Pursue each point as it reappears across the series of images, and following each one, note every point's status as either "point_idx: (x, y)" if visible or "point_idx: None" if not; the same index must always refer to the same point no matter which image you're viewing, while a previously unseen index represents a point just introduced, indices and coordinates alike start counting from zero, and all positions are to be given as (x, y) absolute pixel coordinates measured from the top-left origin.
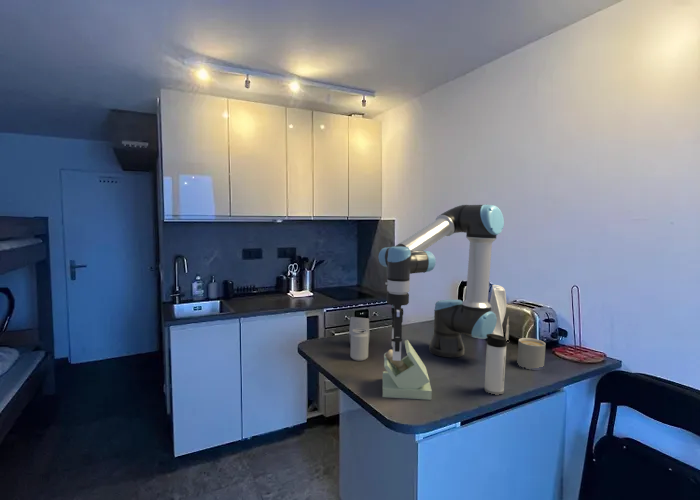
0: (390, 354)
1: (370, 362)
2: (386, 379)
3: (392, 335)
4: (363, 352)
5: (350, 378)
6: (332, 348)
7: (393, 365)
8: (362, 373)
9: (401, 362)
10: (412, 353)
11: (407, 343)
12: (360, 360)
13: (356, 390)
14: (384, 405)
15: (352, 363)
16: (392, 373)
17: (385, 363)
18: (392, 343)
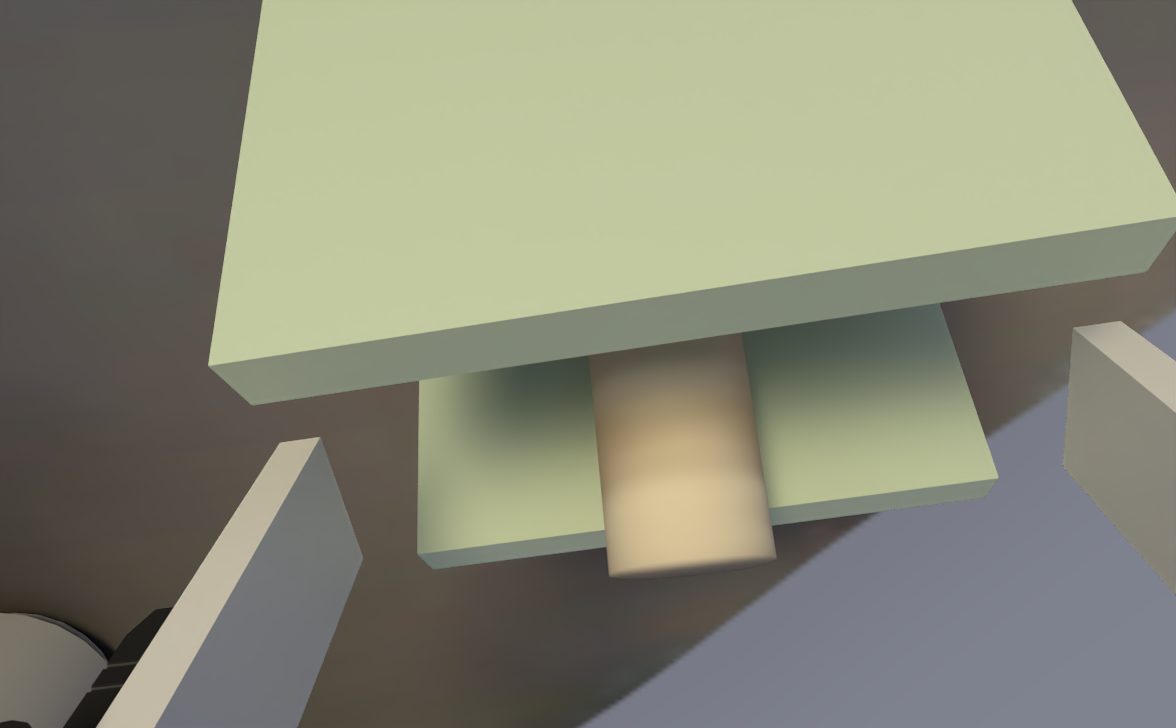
0: (767, 521)
1: (85, 561)
2: None
3: (291, 723)
4: (42, 698)
5: (549, 645)
6: None
7: (585, 366)
8: (397, 578)
9: None
10: (889, 129)
11: (509, 328)
12: (98, 650)
13: (787, 557)
14: None
15: None
16: (953, 345)
17: (875, 505)
18: (342, 584)
